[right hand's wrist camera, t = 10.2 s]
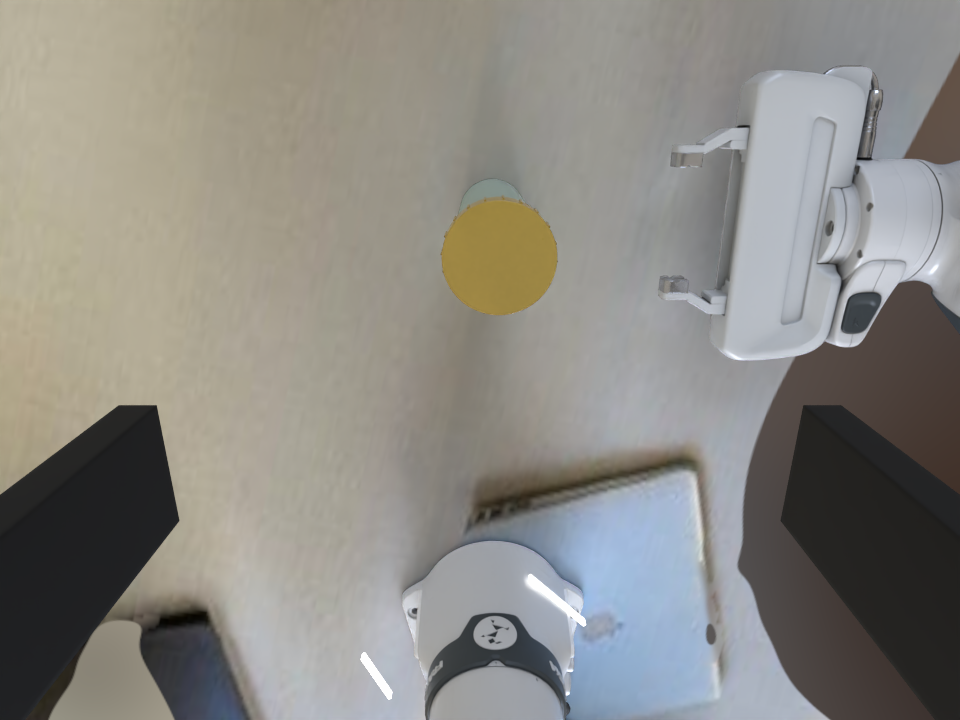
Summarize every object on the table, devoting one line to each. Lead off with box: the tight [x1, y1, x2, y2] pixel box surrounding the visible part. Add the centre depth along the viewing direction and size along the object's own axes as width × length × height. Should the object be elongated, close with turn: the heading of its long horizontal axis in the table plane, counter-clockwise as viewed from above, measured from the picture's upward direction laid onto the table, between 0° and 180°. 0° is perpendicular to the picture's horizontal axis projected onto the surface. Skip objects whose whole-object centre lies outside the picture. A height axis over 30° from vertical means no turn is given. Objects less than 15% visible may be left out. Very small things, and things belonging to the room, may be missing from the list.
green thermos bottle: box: [458, 179, 525, 214], centre depth 42 cm, size 5×5×19 cm
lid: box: [441, 195, 557, 315], centre depth 33 cm, size 6×6×2 cm
